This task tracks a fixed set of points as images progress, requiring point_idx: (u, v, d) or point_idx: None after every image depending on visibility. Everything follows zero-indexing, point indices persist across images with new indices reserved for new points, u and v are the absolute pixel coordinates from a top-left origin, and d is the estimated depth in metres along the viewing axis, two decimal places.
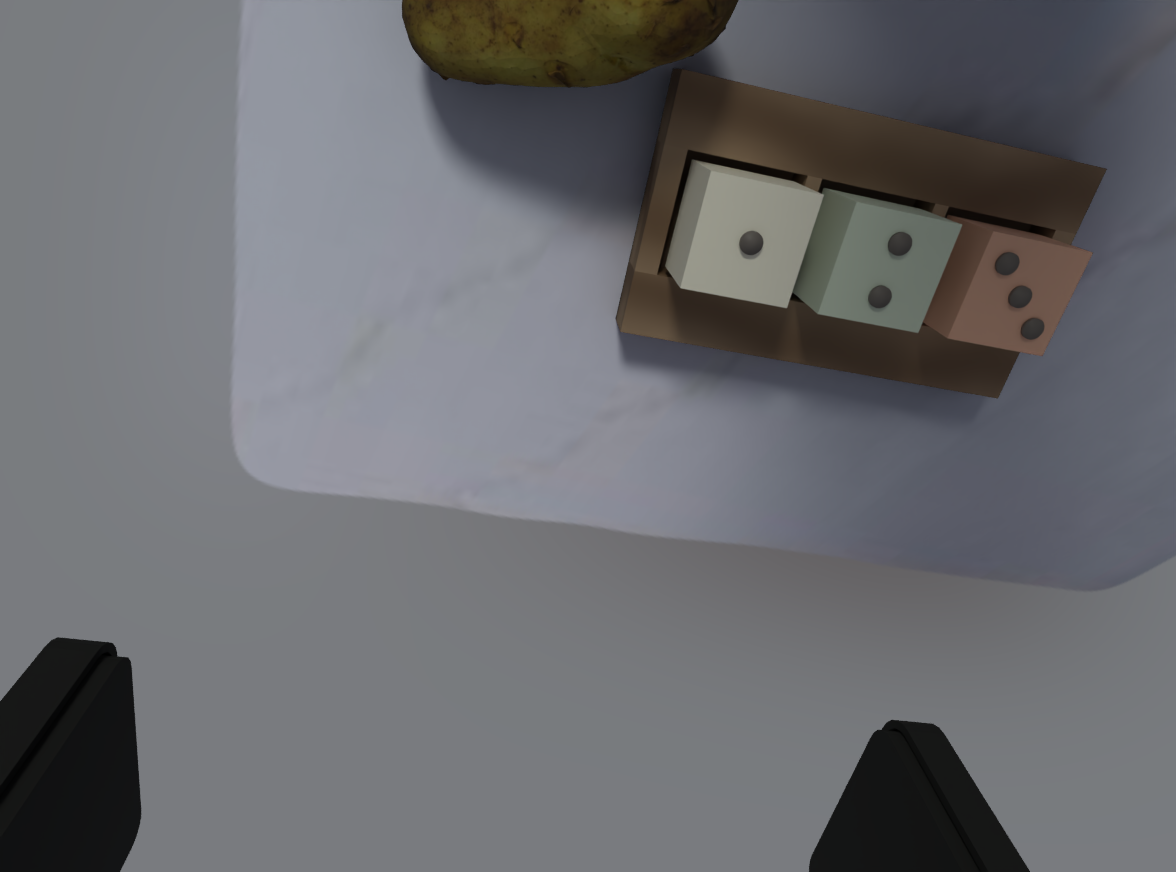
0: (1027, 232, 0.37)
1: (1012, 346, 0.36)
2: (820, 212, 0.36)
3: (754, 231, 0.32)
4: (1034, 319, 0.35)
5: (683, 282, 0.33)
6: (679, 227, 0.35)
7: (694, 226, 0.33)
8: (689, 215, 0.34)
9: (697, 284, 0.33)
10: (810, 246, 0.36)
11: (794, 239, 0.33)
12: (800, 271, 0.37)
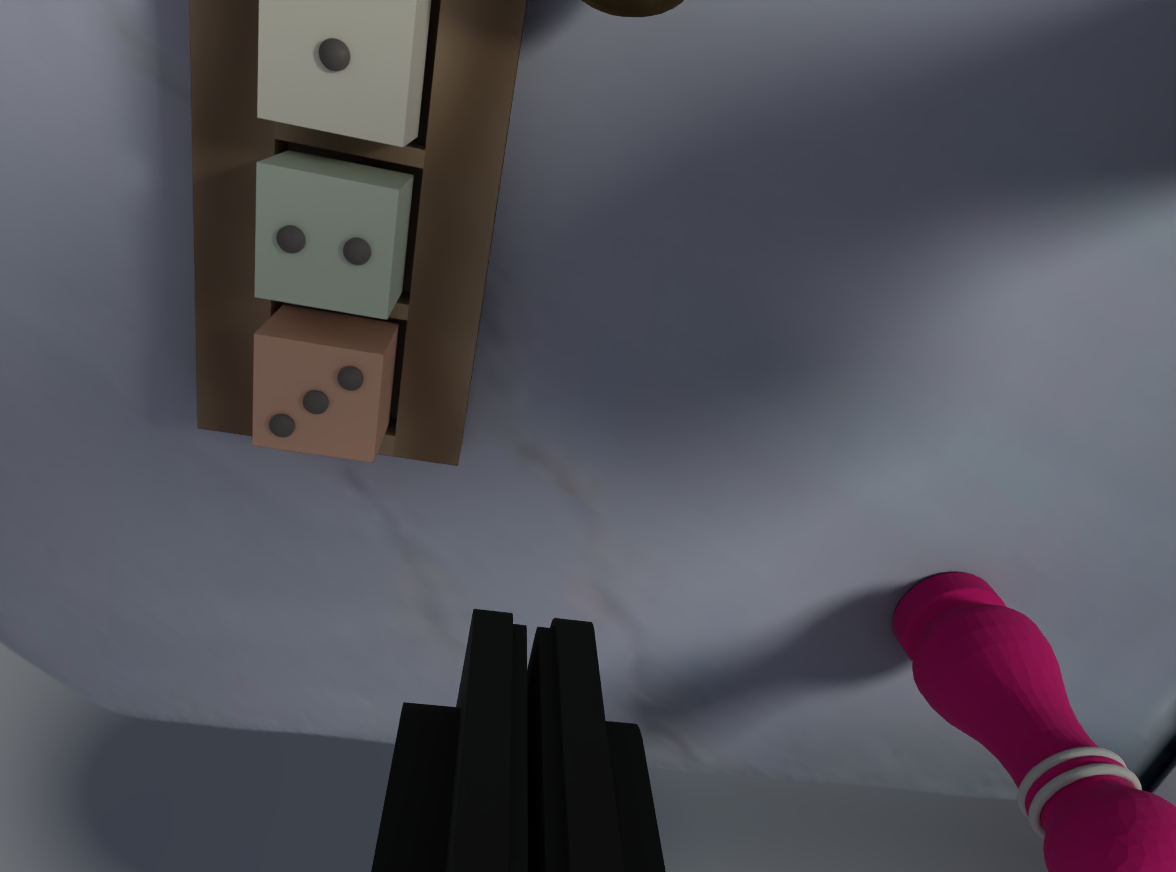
0: (389, 409, 0.35)
1: (257, 410, 0.31)
2: (385, 171, 0.31)
3: (350, 59, 0.26)
4: (292, 423, 0.31)
5: None
6: None
7: None
8: None
9: None
10: (345, 164, 0.30)
11: (346, 116, 0.27)
12: (312, 156, 0.30)
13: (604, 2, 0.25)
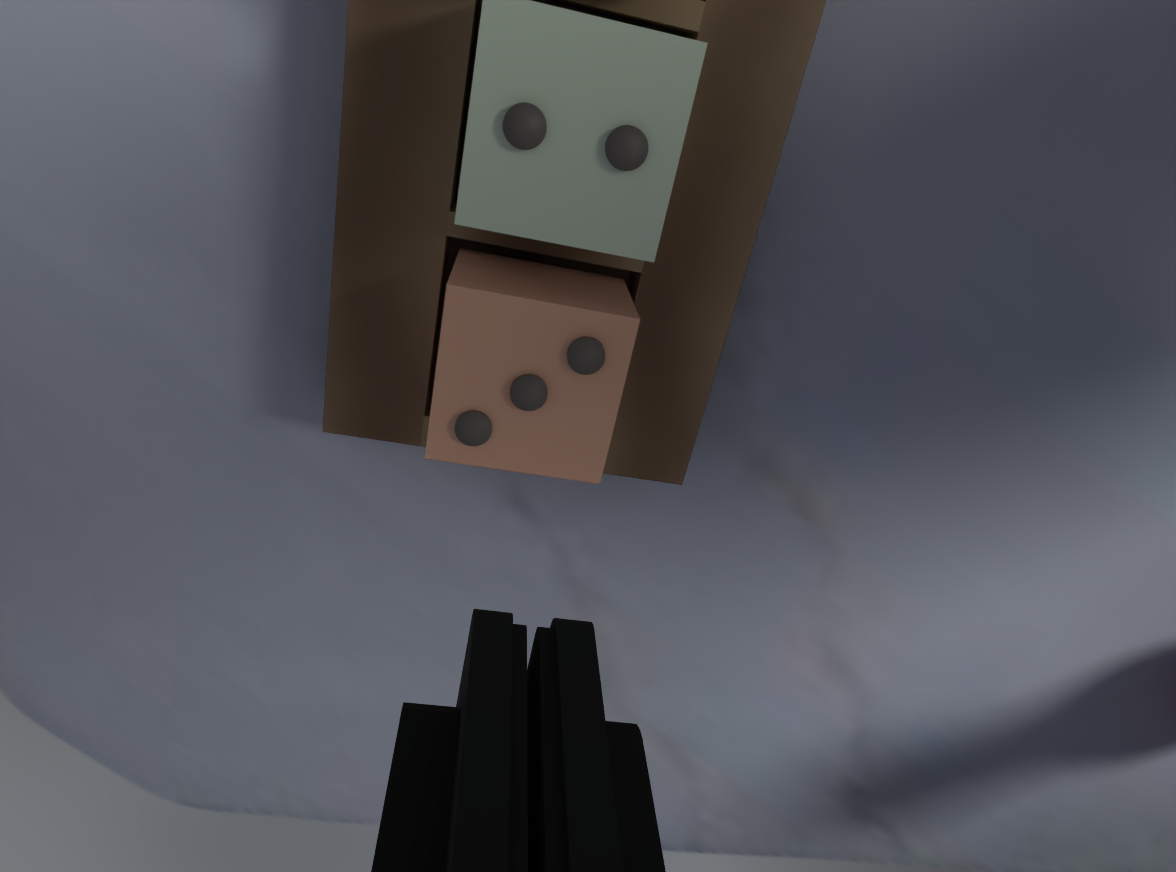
0: None
1: (438, 404, 0.20)
2: None
3: None
4: (490, 425, 0.21)
5: None
6: None
7: None
8: None
9: None
10: None
11: None
12: None
13: None
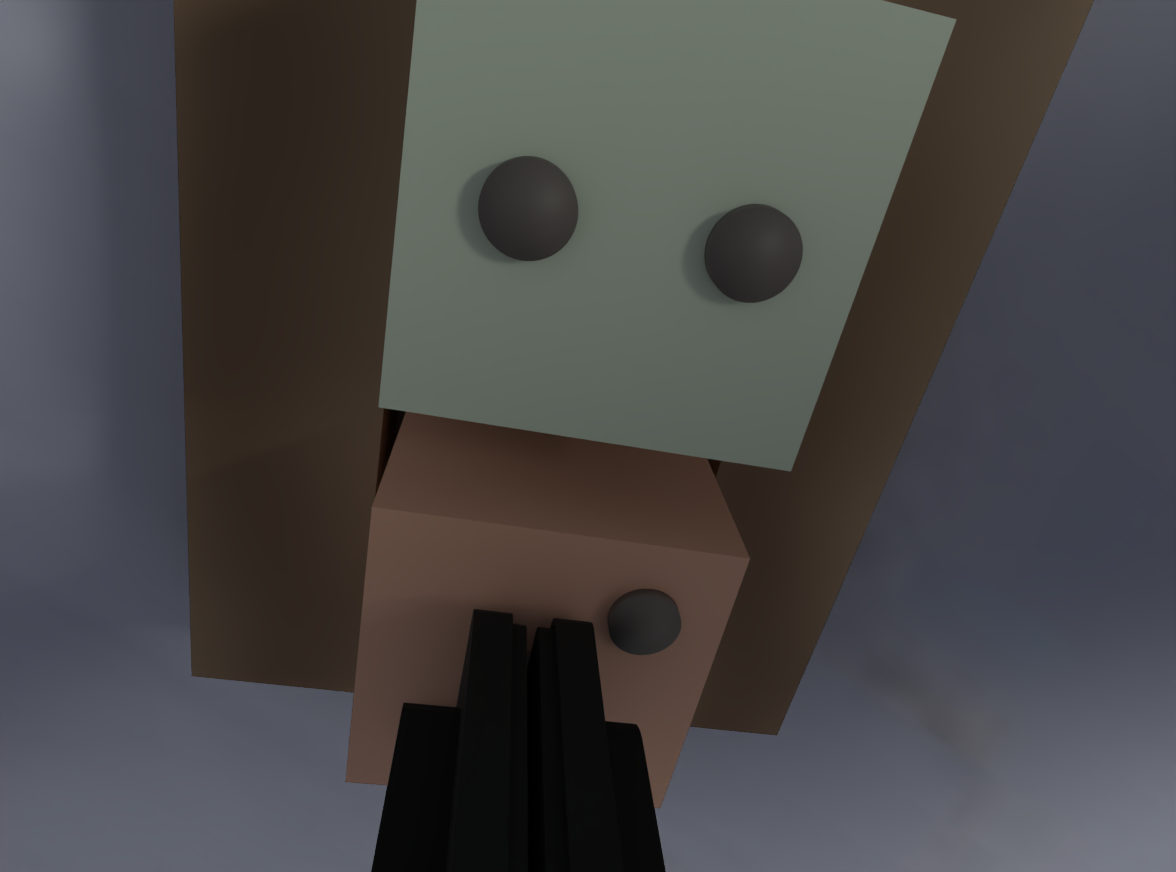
0: None
1: (366, 702, 0.11)
2: None
3: None
4: None
5: None
6: None
7: None
8: None
9: None
10: None
11: None
12: None
13: None
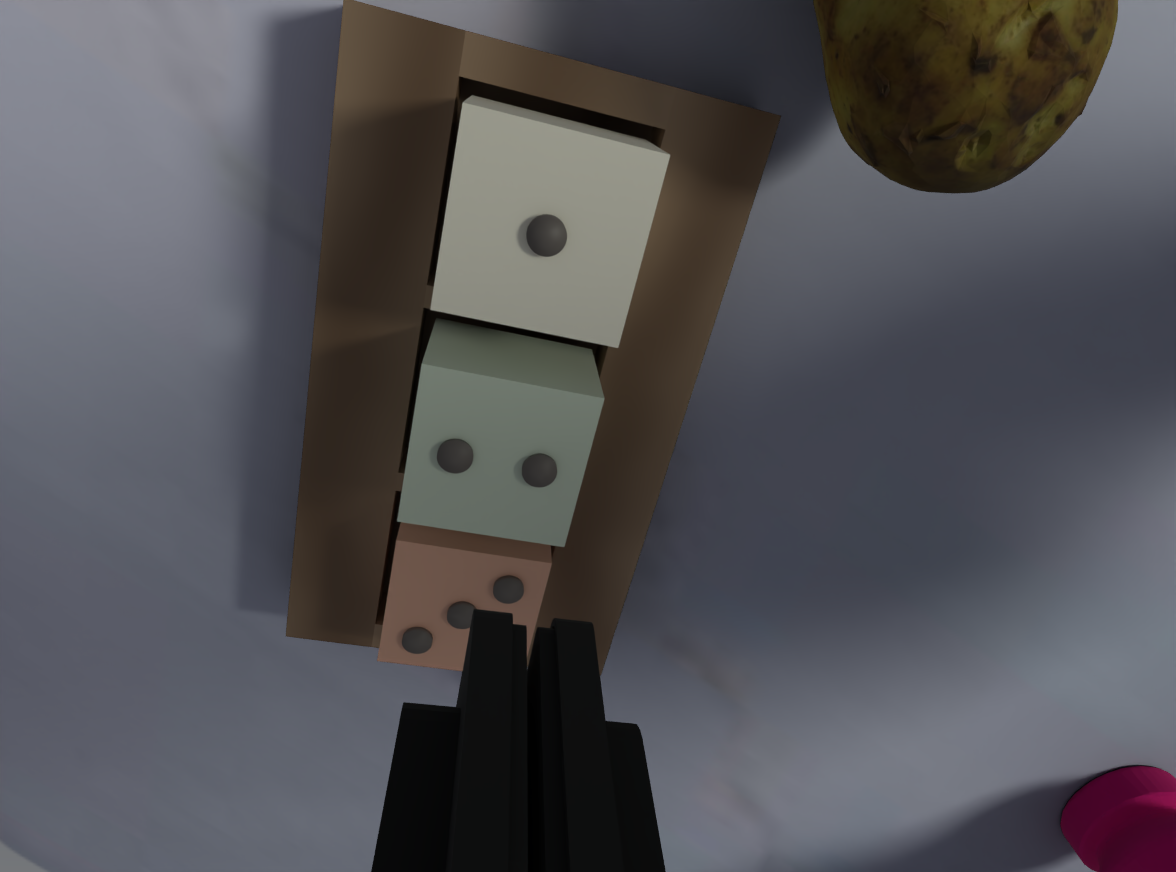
0: None
1: (389, 623, 0.25)
2: (560, 348, 0.24)
3: (565, 240, 0.19)
4: (431, 639, 0.25)
5: (473, 108, 0.17)
6: (546, 115, 0.20)
7: (573, 129, 0.18)
8: (578, 127, 0.19)
9: (470, 137, 0.18)
10: (511, 340, 0.23)
11: (549, 310, 0.20)
12: (469, 329, 0.23)
13: (919, 180, 0.18)
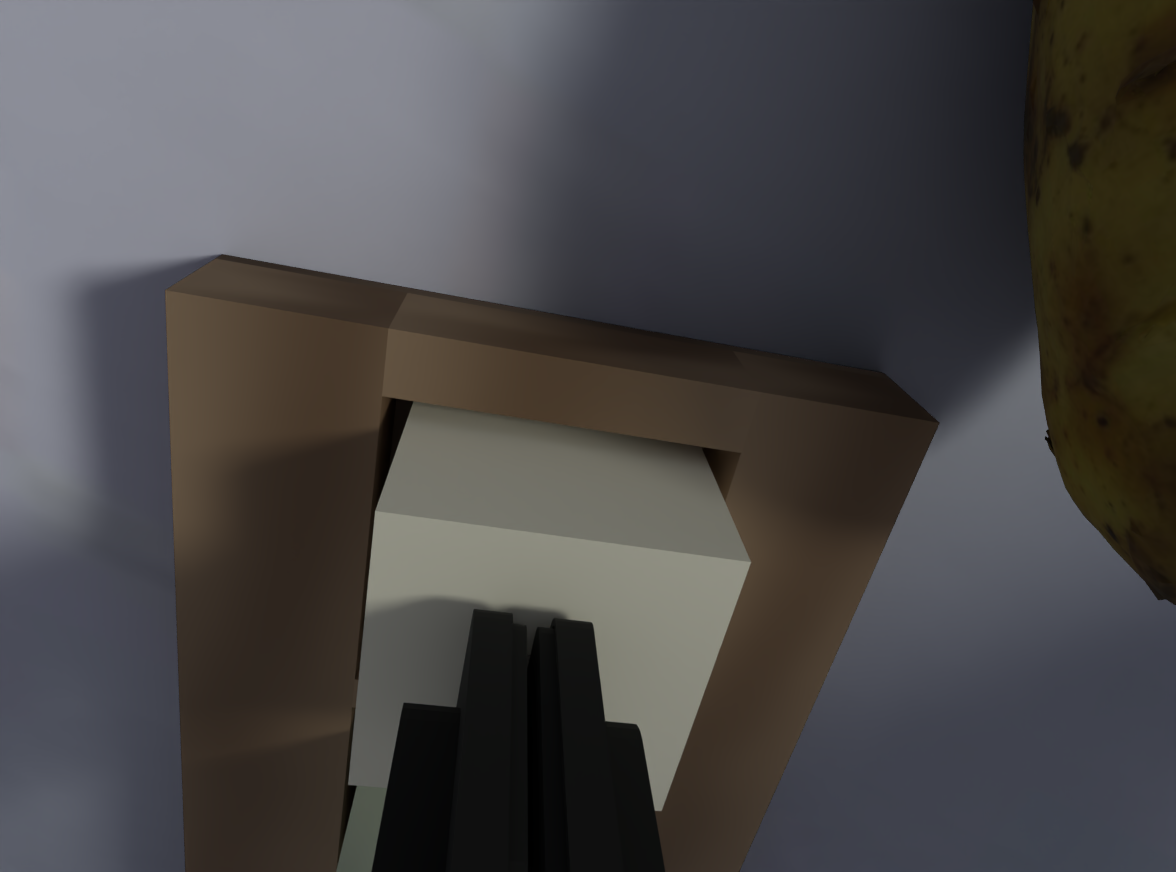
0: None
1: None
2: None
3: None
4: None
5: (396, 518, 0.10)
6: (536, 430, 0.13)
7: (579, 524, 0.10)
8: (587, 476, 0.12)
9: (393, 560, 0.10)
10: None
11: None
12: None
13: None
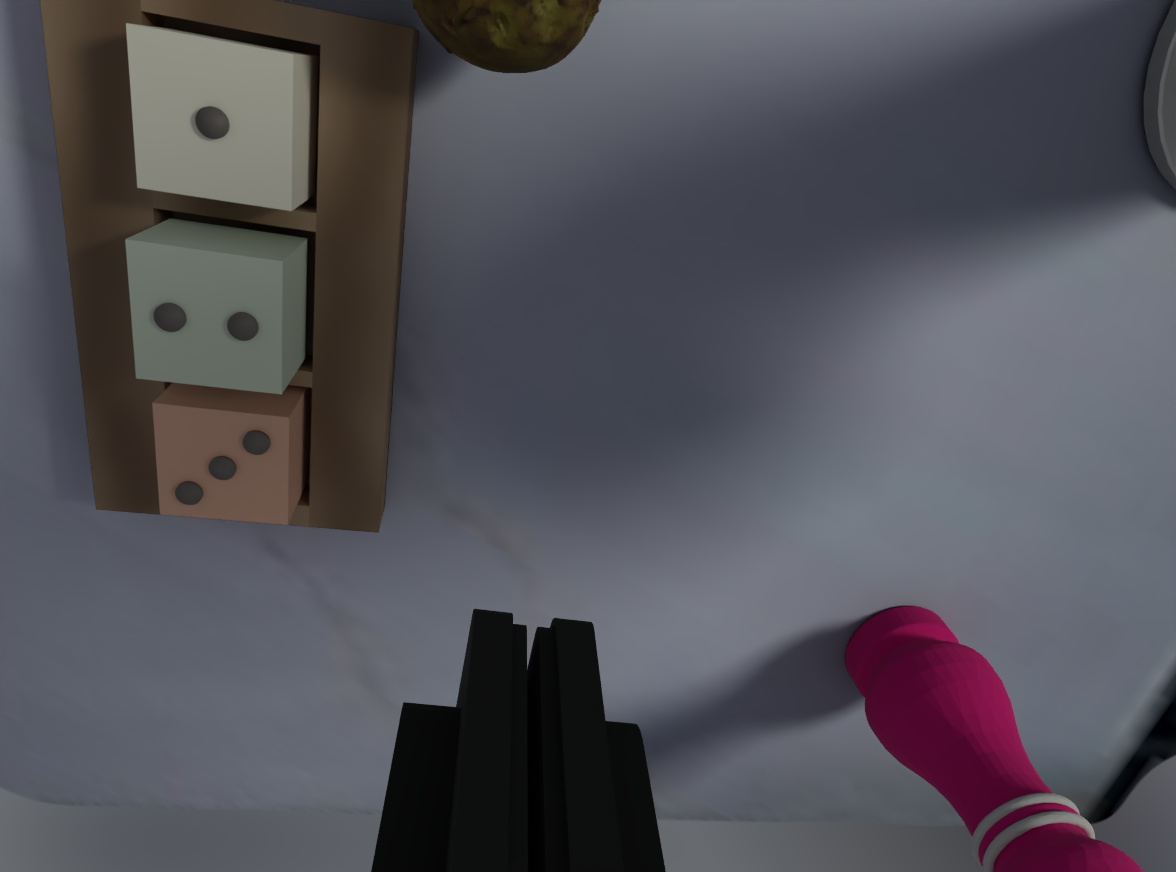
0: (306, 465, 0.35)
1: (162, 478, 0.30)
2: (275, 237, 0.29)
3: (229, 126, 0.25)
4: (199, 491, 0.31)
5: (135, 27, 0.24)
6: (226, 39, 0.27)
7: (219, 40, 0.25)
8: None
9: (137, 50, 0.24)
10: (231, 231, 0.29)
11: (230, 183, 0.26)
12: (196, 224, 0.29)
13: (481, 60, 0.24)
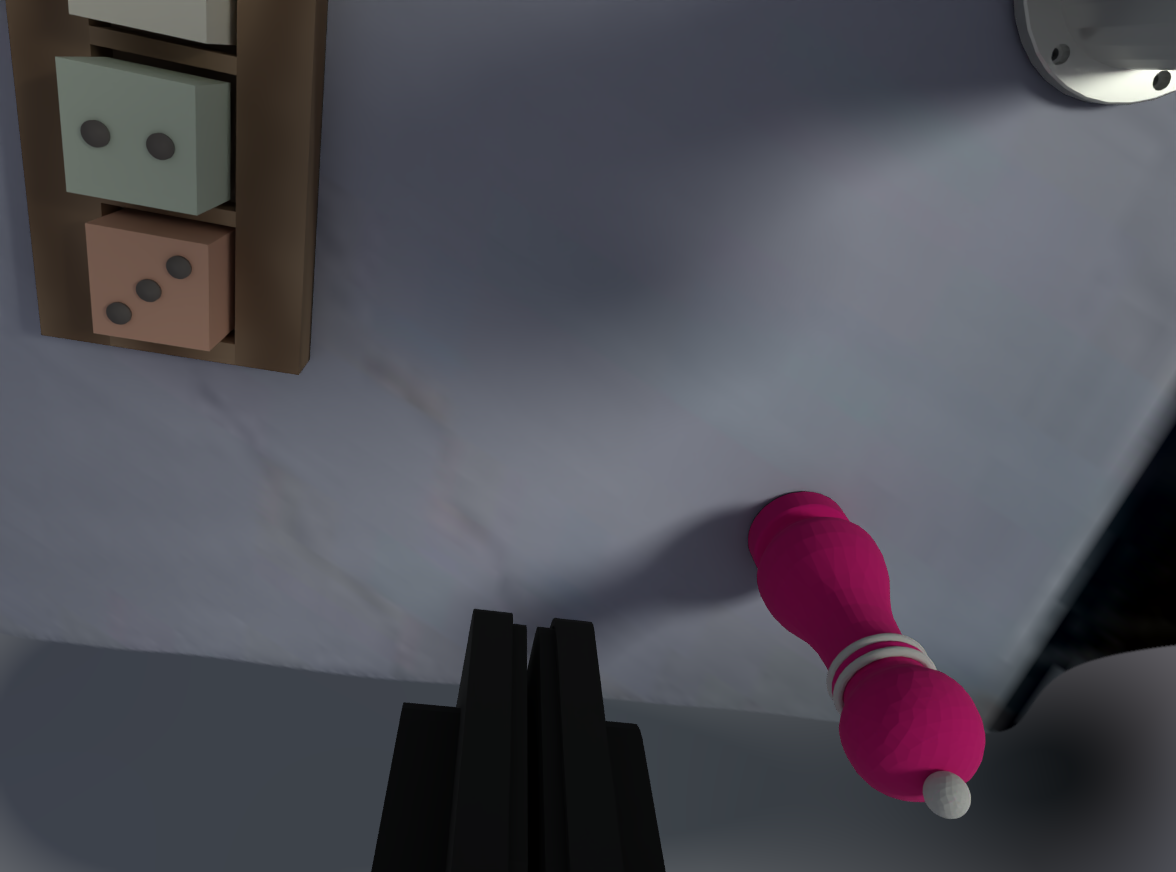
0: None
1: (95, 298, 0.34)
2: (199, 77, 0.32)
3: None
4: (128, 311, 0.34)
5: None
6: None
7: None
8: None
9: None
10: (159, 69, 0.32)
11: (151, 13, 0.29)
12: (128, 62, 0.32)
13: None
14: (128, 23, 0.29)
